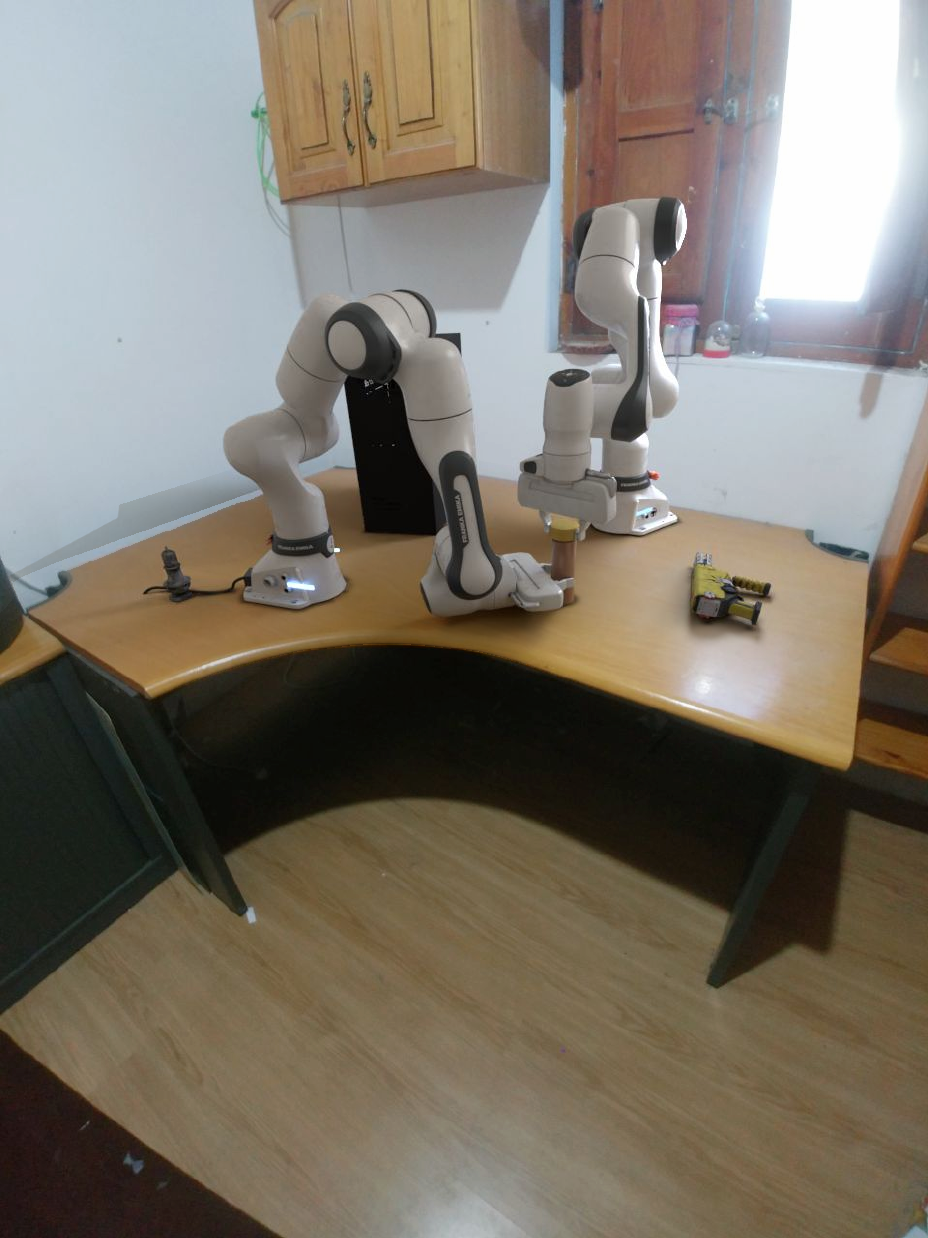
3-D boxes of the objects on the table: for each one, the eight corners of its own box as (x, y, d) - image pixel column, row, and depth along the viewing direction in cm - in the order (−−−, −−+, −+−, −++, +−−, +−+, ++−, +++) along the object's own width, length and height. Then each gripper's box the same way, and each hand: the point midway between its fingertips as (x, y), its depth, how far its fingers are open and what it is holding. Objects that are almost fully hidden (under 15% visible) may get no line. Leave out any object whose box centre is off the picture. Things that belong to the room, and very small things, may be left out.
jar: (575, 595, 126) (578, 524, 119) (571, 606, 122) (574, 533, 115) (552, 592, 128) (554, 522, 120) (547, 603, 124) (549, 531, 116)
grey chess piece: (185, 602, 132) (169, 552, 126) (162, 601, 134) (144, 551, 128) (200, 590, 137) (185, 541, 131) (177, 588, 139) (162, 540, 133)
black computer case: (436, 534, 159) (422, 349, 137) (364, 531, 164) (339, 351, 141) (468, 489, 191) (460, 332, 168) (407, 487, 195) (391, 335, 173)
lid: (552, 542, 116) (552, 530, 114) (546, 531, 121) (547, 520, 119) (582, 540, 116) (582, 528, 114) (575, 529, 121) (576, 518, 119)
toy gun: (769, 561, 128) (696, 549, 132) (782, 610, 108) (695, 594, 112) (763, 581, 130) (691, 569, 134) (774, 633, 110) (689, 616, 114)
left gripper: (519, 594, 110) (589, 582, 112) (487, 551, 127) (548, 542, 130) (519, 624, 113) (587, 611, 115) (488, 578, 130) (548, 568, 133)
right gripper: (625, 469, 107) (619, 541, 114) (531, 454, 119) (531, 520, 126) (607, 478, 103) (602, 553, 110) (512, 461, 115) (513, 529, 122)
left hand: (566, 574), depth 123 cm, fingers closed on jar, 5 cm apart
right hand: (563, 535), depth 118 cm, fingers closed on lid, 5 cm apart
